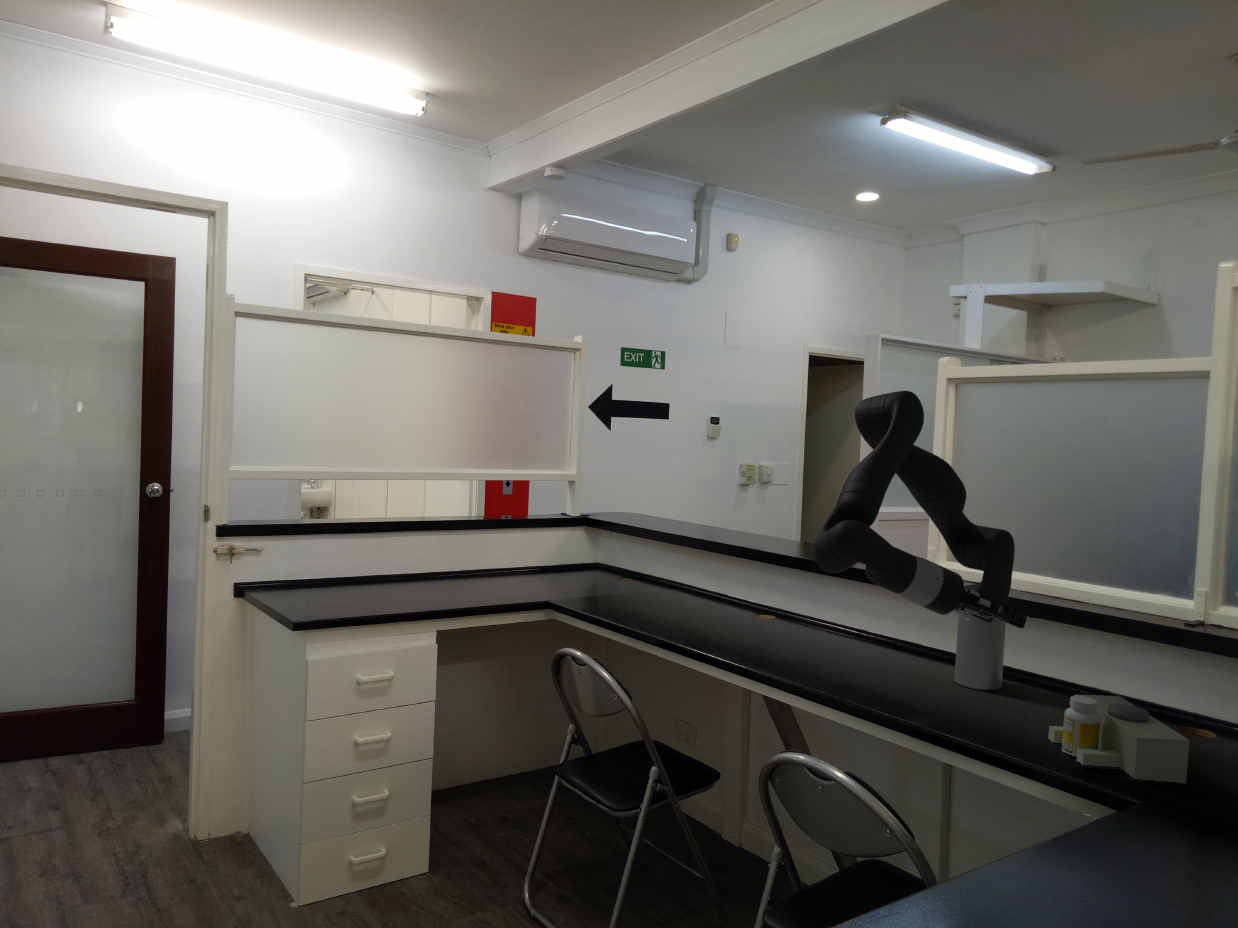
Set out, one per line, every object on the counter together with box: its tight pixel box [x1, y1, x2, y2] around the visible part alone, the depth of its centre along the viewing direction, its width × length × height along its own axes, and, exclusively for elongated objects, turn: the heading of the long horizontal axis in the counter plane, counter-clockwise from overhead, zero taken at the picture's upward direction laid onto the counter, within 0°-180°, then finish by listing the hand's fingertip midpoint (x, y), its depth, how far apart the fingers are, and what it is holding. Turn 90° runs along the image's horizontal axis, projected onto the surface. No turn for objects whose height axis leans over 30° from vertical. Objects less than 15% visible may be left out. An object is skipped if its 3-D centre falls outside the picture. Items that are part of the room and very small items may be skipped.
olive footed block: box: [1047, 694, 1190, 784], centre depth 145 cm, size 20×14×8 cm
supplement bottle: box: [1061, 695, 1101, 757], centre depth 145 cm, size 5×5×10 cm
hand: (1007, 619), depth 147 cm, fingers open, 8 cm apart
